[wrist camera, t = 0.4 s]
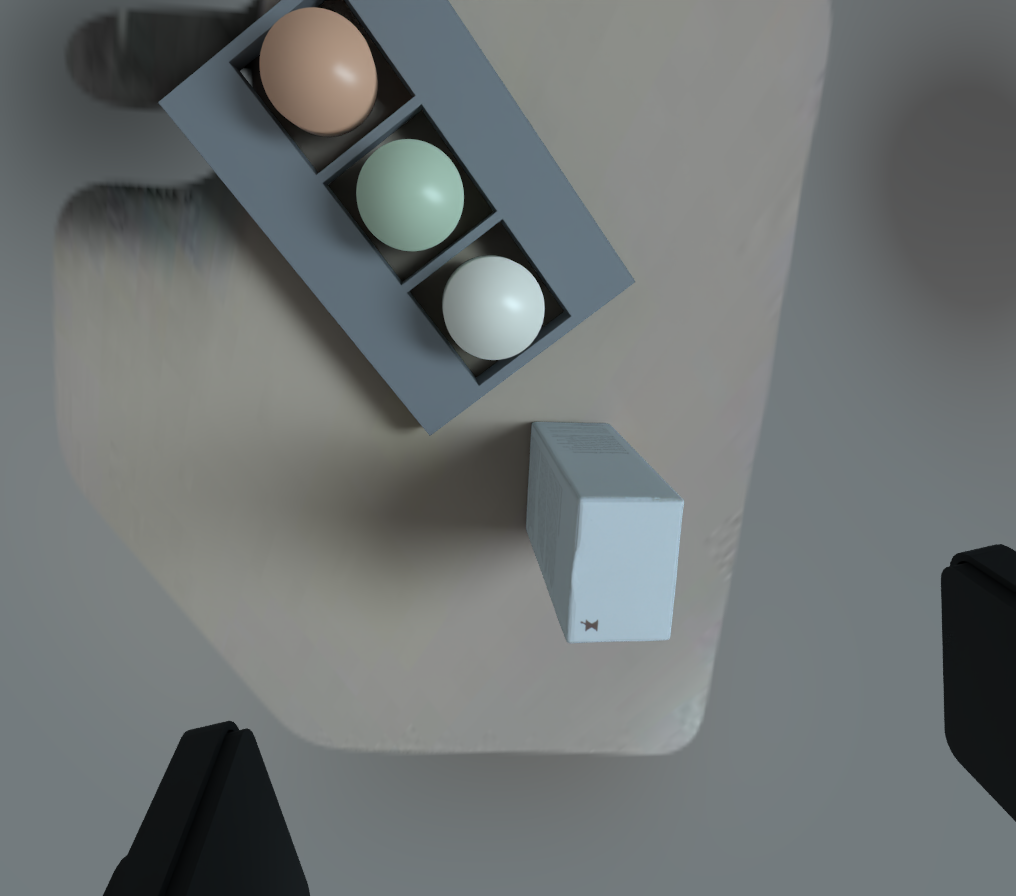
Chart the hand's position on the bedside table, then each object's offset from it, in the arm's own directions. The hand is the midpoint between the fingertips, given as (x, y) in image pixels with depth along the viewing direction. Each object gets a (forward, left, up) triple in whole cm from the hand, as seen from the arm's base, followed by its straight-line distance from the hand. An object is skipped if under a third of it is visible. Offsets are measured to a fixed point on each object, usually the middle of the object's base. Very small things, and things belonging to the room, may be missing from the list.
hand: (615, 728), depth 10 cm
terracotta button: (-2, -13, -28) cm, 31 cm away
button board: (-2, -8, -29) cm, 30 cm away
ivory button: (-2, -2, -28) cm, 28 cm away
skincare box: (0, +8, -30) cm, 31 cm away
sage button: (-2, -8, -28) cm, 29 cm away
